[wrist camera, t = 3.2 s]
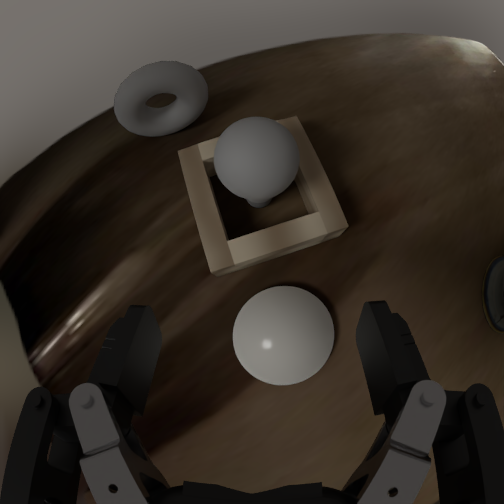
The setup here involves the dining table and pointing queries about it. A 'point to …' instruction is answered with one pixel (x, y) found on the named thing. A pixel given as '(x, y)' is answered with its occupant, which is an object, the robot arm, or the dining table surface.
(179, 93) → the donut
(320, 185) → the pocket
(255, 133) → the lightbulb
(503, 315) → the apothecary jar
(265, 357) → the white round part
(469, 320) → the dining table surface
